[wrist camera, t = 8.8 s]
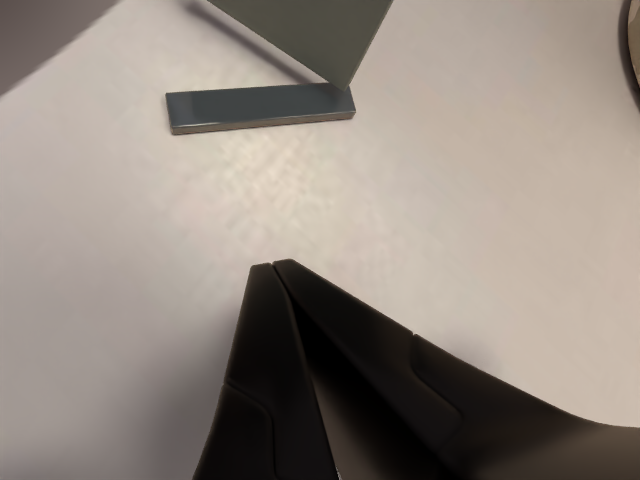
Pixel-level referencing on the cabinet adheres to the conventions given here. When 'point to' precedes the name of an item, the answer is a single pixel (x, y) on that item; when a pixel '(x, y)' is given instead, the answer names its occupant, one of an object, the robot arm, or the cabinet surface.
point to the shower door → (315, 30)
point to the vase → (634, 36)
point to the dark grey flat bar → (257, 107)
